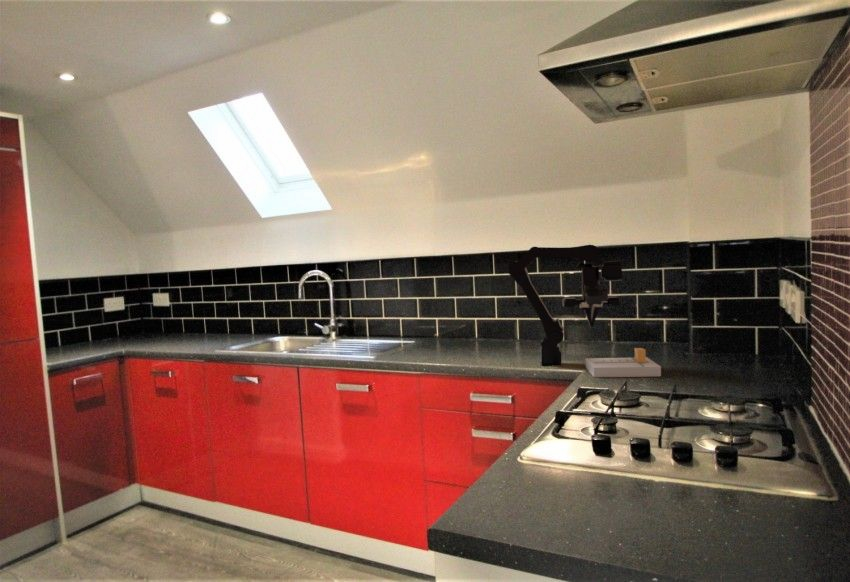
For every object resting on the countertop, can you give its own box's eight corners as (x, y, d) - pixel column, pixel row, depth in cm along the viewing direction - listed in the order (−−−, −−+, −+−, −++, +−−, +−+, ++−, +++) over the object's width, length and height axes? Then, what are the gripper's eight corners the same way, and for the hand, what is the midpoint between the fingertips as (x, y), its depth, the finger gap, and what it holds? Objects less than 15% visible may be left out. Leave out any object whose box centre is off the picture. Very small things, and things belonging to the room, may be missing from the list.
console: (593, 377, 182) (593, 367, 182) (585, 367, 198) (585, 358, 198) (661, 376, 180) (660, 366, 180) (647, 366, 196) (647, 356, 195)
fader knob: (637, 369, 186) (637, 350, 186) (634, 367, 190) (634, 348, 190) (645, 369, 186) (645, 349, 186) (642, 367, 190) (642, 347, 190)
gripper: (565, 283, 194) (566, 330, 195) (624, 281, 192) (624, 329, 193) (561, 281, 205) (562, 326, 206) (616, 280, 203) (617, 325, 204)
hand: (591, 326), depth 202 cm, fingers closed
